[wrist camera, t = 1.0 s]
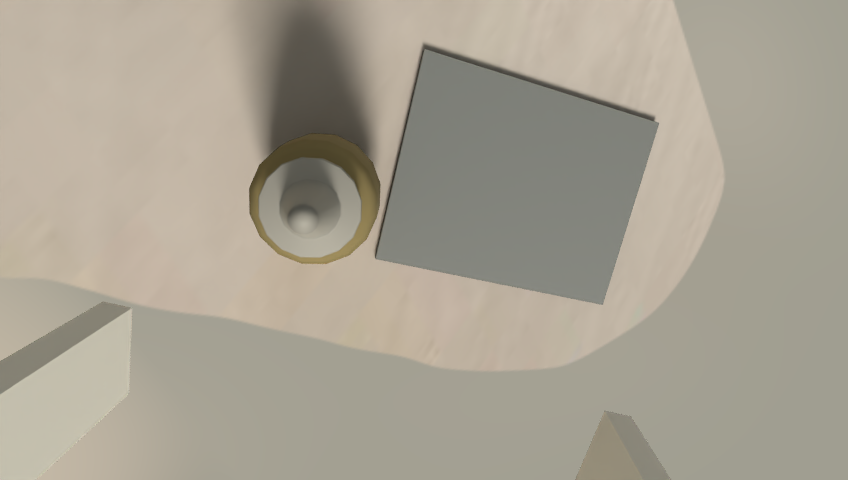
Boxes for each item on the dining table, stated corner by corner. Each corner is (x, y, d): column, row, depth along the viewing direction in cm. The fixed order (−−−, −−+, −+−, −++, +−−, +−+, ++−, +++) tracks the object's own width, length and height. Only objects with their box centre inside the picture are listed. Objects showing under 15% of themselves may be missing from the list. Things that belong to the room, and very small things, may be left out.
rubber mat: (423, 51, 33) (424, 49, 32) (654, 123, 37) (659, 122, 37) (375, 257, 35) (375, 259, 34) (598, 302, 40) (602, 304, 39)
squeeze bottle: (260, 143, 32) (159, 121, 15) (368, 129, 33) (394, 93, 16) (282, 248, 34) (215, 341, 16) (384, 231, 35) (424, 300, 17)
